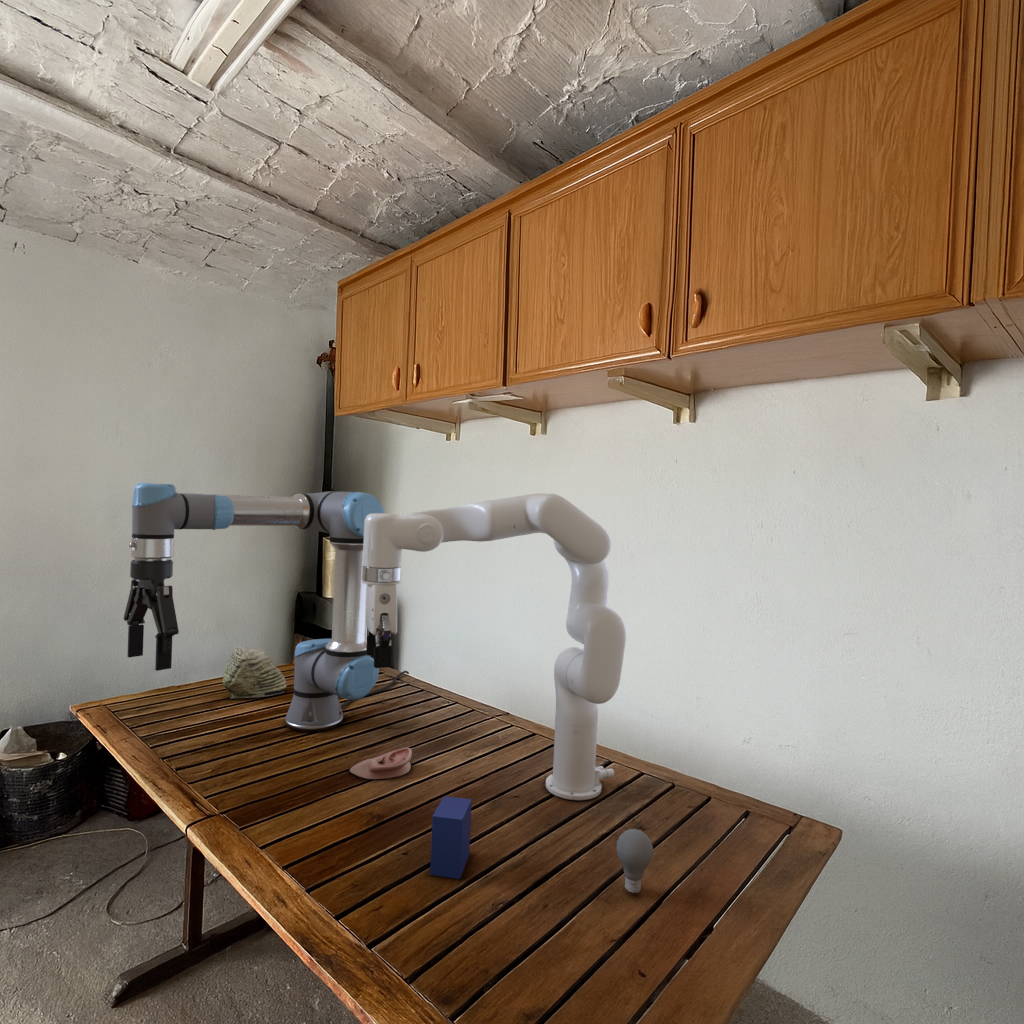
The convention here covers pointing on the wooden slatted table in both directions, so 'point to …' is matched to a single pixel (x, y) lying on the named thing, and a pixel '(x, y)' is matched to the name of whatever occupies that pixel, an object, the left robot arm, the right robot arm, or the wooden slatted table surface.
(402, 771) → the anatomical model
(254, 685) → the fossil
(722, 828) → the wooden slatted table surface
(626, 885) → the light bulb
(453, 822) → the brick
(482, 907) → the wooden slatted table surface
